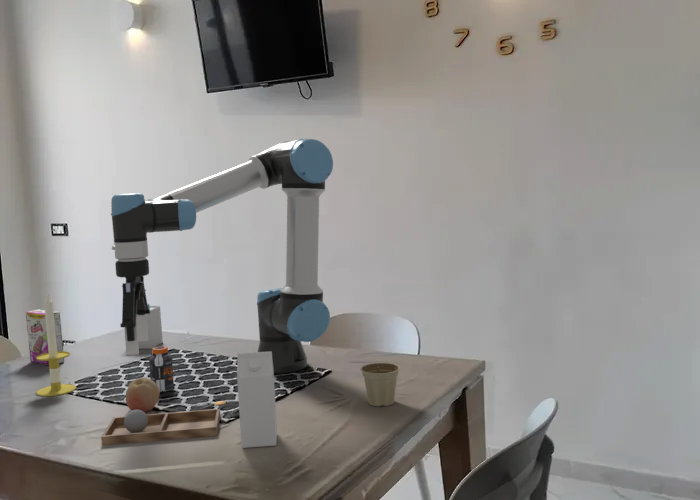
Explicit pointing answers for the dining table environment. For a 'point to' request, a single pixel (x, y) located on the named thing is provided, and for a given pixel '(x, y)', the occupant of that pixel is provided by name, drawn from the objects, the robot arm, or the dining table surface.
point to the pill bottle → (161, 368)
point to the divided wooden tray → (165, 427)
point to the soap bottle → (153, 329)
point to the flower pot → (380, 382)
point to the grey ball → (135, 421)
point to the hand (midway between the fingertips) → (138, 347)
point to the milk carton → (256, 399)
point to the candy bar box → (41, 334)
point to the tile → (207, 403)
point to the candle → (53, 357)
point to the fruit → (142, 394)
